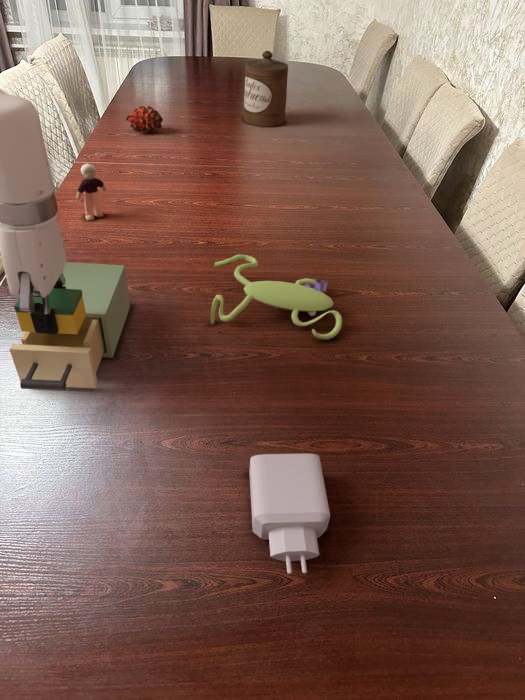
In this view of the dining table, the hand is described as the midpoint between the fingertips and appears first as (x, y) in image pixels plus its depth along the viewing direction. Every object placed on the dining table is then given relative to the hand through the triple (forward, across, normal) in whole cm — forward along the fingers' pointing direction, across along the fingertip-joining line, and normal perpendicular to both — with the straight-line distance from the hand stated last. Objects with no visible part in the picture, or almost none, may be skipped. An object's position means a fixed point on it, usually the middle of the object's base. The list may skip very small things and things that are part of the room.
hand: (53, 319), depth 77 cm
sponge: (+1, 0, 0) cm, 1 cm away
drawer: (+10, 0, 0) cm, 10 cm away
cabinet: (+11, -11, 0) cm, 16 cm away
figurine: (+11, -21, +33) cm, 41 cm away
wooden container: (+11, -135, +31) cm, 139 cm away
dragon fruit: (+11, -115, -8) cm, 116 cm away
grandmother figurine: (+11, -54, -9) cm, 56 cm away
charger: (+11, +26, +35) cm, 45 cm away
